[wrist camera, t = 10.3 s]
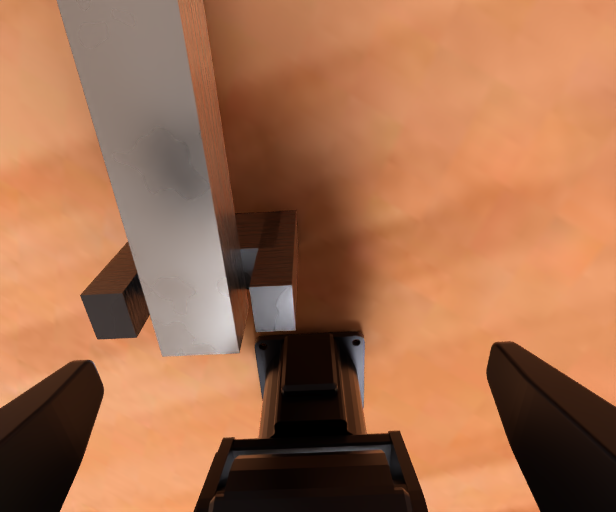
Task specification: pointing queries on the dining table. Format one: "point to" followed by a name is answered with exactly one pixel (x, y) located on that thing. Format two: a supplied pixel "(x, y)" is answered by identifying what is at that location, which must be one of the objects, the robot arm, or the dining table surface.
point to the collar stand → (257, 271)
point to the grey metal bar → (165, 162)
